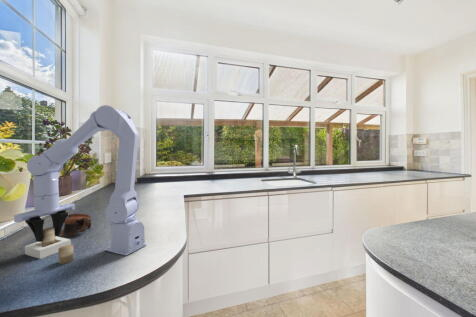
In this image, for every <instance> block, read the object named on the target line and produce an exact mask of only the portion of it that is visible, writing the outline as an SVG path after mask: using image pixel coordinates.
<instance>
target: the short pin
mask: <svg viewBox="0 0 476 317" xmlns="http://www.w3.org/2000/svg"><path fill="white" fill-rule="evenodd" d="M58 251H59V252H58V264H59V265H66V264H69V263H71V262H73V261H74V258H75V256H74V244H71V245H65V246H62V247H60V248H59V249H58Z"/></svg>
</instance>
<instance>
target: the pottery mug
mask: <svg viewBox="0 0 476 317" xmlns="http://www.w3.org/2000/svg"><path fill="white" fill-rule="evenodd" d="M91 218H92V217H91V215H89V214H86V213H71V214H68V216H67V218H66V219H65V221H64V223H63V229H61V233H60V237H66V236H67V237H76V236H77V235H78V232H79V233H85V232H86V230H87V228H88V229H91V227H92V222H91V221H92V219H91Z"/></svg>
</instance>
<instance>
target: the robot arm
mask: <svg viewBox="0 0 476 317" xmlns="http://www.w3.org/2000/svg"><path fill="white" fill-rule="evenodd" d="M133 120H134V119H133V117H131V116H130V115H129V114H128V113H127V112H125V111H123V110H120V109H117V108H115V107H112V106H111V105H108V104H107V105H101V106H99V107H98V108H97V109H96V110H95V111H92V112H91V113H90V115H89V118H88V119H87V120H86V121H85V122H84V123H83V124H82V125H81V126H79V127H78V129H76V131H74V132H73V133H72V134H71V135H70V136H69V137H68V138H60V139H55V141H54V142H53V143H54V144H52V146H51V147H49V148H48V149H47V150H44V151H43V152H42V153H41V154H40V155H33V156H31V157H30V158H29V160H27V163H26V168H27V171H28V172H29V173H30V174H32V179H33V180H32V182H33V184H32V185H33V201H34V202H33V203H34V204H33V206H34V208H33V210H29V211H25V212H22V213H18V214H13V221H14V223H22V222H23V221H24V222H25V224H27V226H28V227H29V228H30V229H31V231H32V233H33V235H34V238H35V241H36V242H41V241H43V229H44V224H45V219H43V218H42V217H44V216H49V215H50V217H51V222H52V227H54V228H55V236H57V237H61V231H62V230H63V229H62V228H63V227H64V224H65V223H64V221H65V220H66V219H67V218H68V216H69V212H68V211H74V210H76V204H75V203H71V202H70V203H67V204H60V192H59V191H60V189H59V188H60V187H59V178H60V173H61V171H63V168H64V165H65V164H66V162H68V161H69V160H71V158H73V157H74V156H75V155H77V153H79V146H81V145H82V144H83V143H85V142H87V141H88V140H89V139H91V138H92V137H93V136H95V135H96V134H98V133H99V132H106V131H111V133H112V134H113V135H115V136H116V137H117V138H118V151H117V164H116V171H115V172H116V173H115V185H114V186H115V187H114V191H113V192H112V193H111V196H110V198H109V203H108V205H107V206H106V207H105V211H104V212H105V216H106V219H107V220H108V221H109V222H110V243H111V244H110V246H108V247H105V248H104V251H105V252H108V253H109V252H110V253H114V254H118V255H122V256H128V255H130V254H132V253H134V252H135V251H138V250H140V249H141V248H143V247H145V246H147V245H148V244H147V242H146V241H145V226H144V223H143V222H141V221H139V220H138V218H137V214H136V213H137V211H138V210H139V208H140V203H139V200H138V192H137V191H136V190H135V182H136V170H137V161H138V159H137V158H138V147H139V138H140V136H139V132H138V130H137V127H136V125H135V124H134V121H133Z"/></svg>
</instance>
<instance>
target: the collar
mask: <svg viewBox="0 0 476 317" xmlns="http://www.w3.org/2000/svg"><path fill="white" fill-rule="evenodd" d="M65 245H72V239H70V238H66V237H63V236H55V243H54V244H52V245H49V246H46V247H42V244H41V242H38V241H36V242H33V243H30V244H27V245H25V246H24V254H25V256H26V255H27V256H30V257H33V258H36V259H39V260H40V259H45V258H47V257H50V256H52V255H55V254H59V251H58V249H59V248H60V247H62V246H65Z"/></svg>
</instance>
